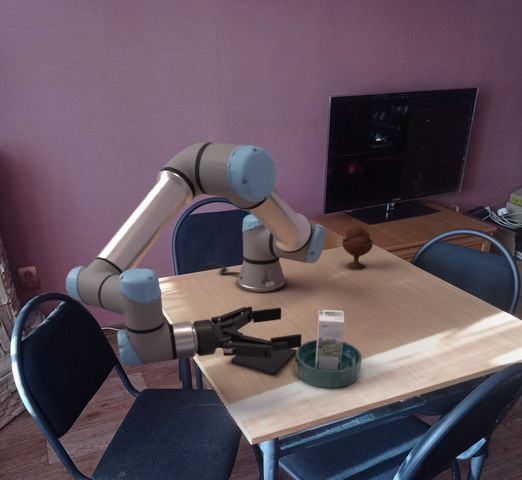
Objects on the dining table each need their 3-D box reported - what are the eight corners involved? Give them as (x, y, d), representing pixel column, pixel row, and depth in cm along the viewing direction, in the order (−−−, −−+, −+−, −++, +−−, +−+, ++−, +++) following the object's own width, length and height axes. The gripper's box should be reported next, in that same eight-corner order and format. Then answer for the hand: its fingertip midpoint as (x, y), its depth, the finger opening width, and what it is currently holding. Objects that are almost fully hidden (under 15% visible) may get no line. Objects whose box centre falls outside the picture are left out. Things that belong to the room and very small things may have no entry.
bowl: (284, 377, 117) (284, 361, 115) (311, 349, 129) (311, 333, 127) (346, 395, 111) (347, 378, 109) (368, 364, 123) (370, 348, 120)
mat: (231, 363, 123) (230, 359, 123) (255, 342, 132) (255, 338, 132) (274, 375, 118) (274, 372, 118) (296, 353, 127) (296, 349, 127)
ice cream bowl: (364, 274, 174) (368, 231, 167) (335, 268, 179) (338, 226, 172) (375, 264, 182) (380, 223, 175) (347, 259, 187) (350, 219, 180)
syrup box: (339, 363, 122) (343, 309, 115) (340, 376, 117) (344, 320, 110) (315, 362, 123) (318, 308, 115) (315, 375, 117) (318, 319, 110)
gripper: (186, 328, 118) (273, 317, 123) (206, 385, 97) (309, 369, 102) (184, 299, 114) (273, 289, 120) (204, 351, 94) (311, 336, 99)
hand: (290, 326), depth 111 cm, fingers open, 13 cm apart
